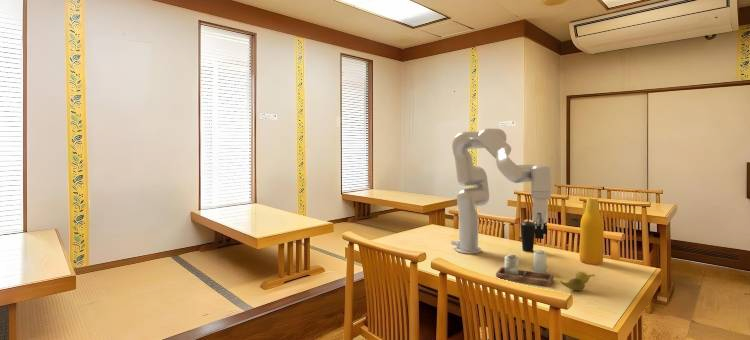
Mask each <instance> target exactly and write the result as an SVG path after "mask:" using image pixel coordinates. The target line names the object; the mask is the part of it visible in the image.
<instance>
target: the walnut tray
mask: <svg viewBox="0 0 750 340" xmlns="http://www.w3.org/2000/svg"><path fill="white" fill-rule="evenodd" d="M496 277H498V278H502V279H501V280H505V279H506V280H505V281H511V282H518V283H524V284H530V285H534V286H535V285H536V286H540V287H541V286H542V287H549V288H550V287H551V286H552V284H553V281H554V274H551V273H539V272H533V270H531V271H530V270H523V269H519V257H518V256H517V255H515V254H511V253H510V254H507V255H505V256H504V266H501V267H500V268H499V269H498V270H497V271H496V273H495V278H496ZM498 278H497V279H498Z"/></svg>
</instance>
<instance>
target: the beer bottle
mask: <svg viewBox="0 0 750 340" xmlns="http://www.w3.org/2000/svg"><path fill="white" fill-rule="evenodd" d="M604 225H605V223H604V219H603V217H602V214H601V213H600V206H599V198H597V197H587V199H586V205H585V209H584V213H583V215H582V216H581V219H580V226H579V227H580V230H579V231H580V232H579V235H580V236H579V260H580V262H581V263H584V264H587V265H591V264H592V265H593V266H599V265H602V264H603V263H604V227H605V226H604Z"/></svg>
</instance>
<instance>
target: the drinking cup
mask: <svg viewBox="0 0 750 340" xmlns="http://www.w3.org/2000/svg"><path fill="white" fill-rule="evenodd" d="M519 225H520V232H521V246H522V248H521V249H522V251H523V252H525V251H526V252H527V253H531V252H534V245H535V225H536V222H535V223H533V222H532V221H530V210H528V211H527V220H526V221H522V222H520V223H519ZM526 252H525V253H526Z"/></svg>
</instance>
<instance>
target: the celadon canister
mask: <svg viewBox="0 0 750 340" xmlns="http://www.w3.org/2000/svg"><path fill="white" fill-rule="evenodd" d="M532 252H533V254H532V256H533V257H532V259H533V260H532V272H539V273H545V274H547V265H548V264H547V262H548V259H547V258H548V257H547V255H548V253H547V252H545V250H541V249H540V250H539V249H537V250H535V251H532Z"/></svg>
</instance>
